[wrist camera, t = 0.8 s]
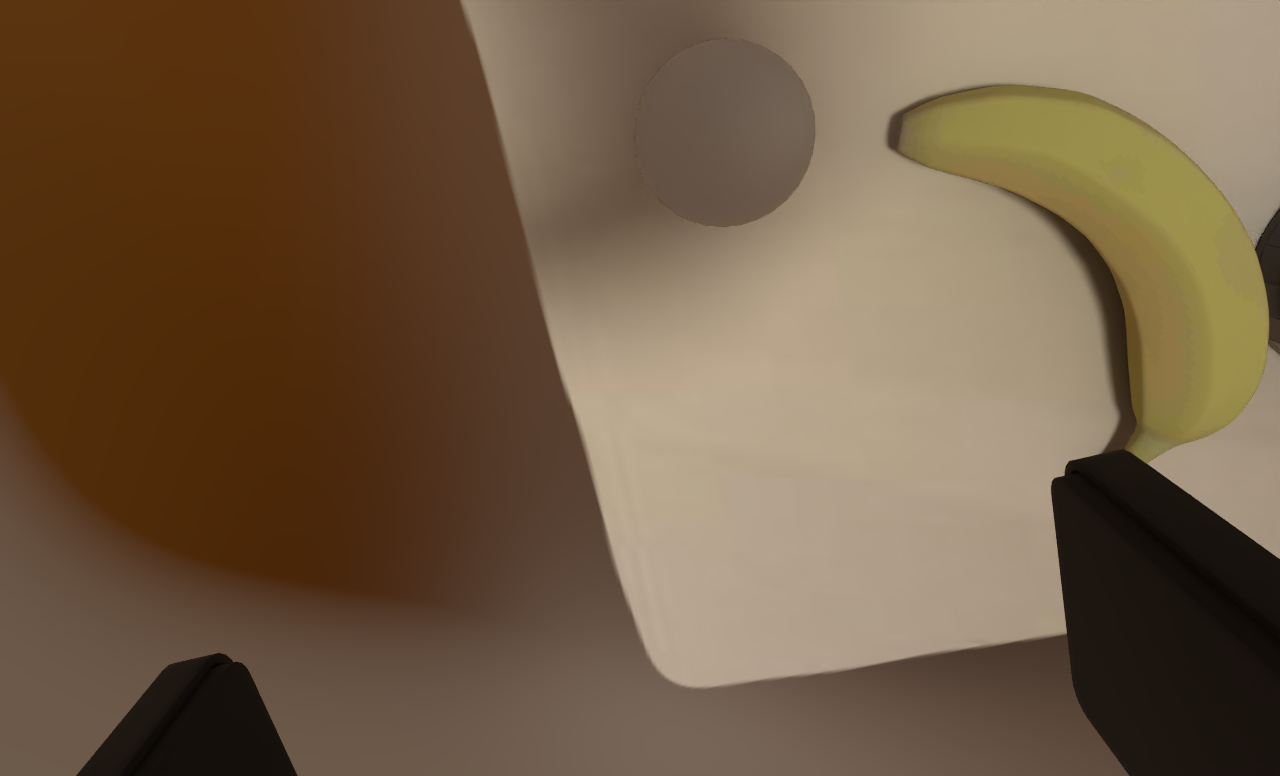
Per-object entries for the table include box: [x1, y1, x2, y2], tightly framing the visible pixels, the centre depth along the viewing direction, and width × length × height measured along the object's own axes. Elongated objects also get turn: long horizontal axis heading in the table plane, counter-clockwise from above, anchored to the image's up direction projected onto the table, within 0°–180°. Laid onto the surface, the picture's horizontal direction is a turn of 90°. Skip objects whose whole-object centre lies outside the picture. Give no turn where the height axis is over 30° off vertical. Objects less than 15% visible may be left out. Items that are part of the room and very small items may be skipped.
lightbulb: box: [634, 38, 815, 227], centre depth 32 cm, size 6×6×11 cm
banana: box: [896, 85, 1269, 464], centre depth 38 cm, size 14×6×20 cm
